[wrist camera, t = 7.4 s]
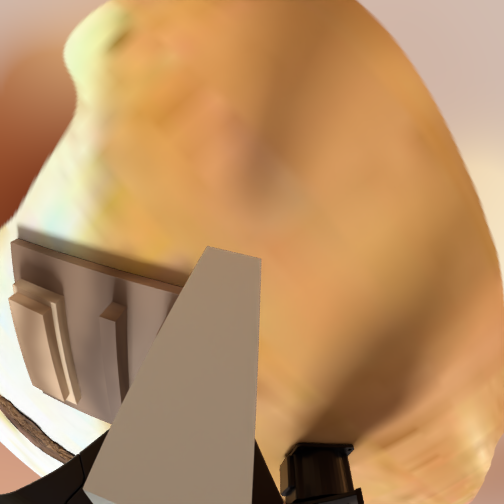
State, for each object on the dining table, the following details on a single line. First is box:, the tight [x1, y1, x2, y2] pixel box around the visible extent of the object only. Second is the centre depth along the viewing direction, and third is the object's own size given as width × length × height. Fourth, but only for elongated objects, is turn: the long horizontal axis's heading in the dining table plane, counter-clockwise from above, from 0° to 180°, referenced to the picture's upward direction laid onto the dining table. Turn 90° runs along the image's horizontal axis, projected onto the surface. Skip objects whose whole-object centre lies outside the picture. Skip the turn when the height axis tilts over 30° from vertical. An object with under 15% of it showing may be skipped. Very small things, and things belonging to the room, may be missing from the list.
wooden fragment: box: [0, 395, 74, 464], centre depth 30 cm, size 26×11×1 cm, turn 42°
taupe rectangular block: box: [83, 246, 261, 504], centre depth 7 cm, size 2×7×9 cm, turn 167°
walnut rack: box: [11, 238, 183, 424], centre depth 20 cm, size 18×18×3 cm
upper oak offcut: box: [8, 292, 70, 402], centre depth 18 cm, size 4×10×1 cm, turn 167°
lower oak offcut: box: [13, 279, 82, 405], centre depth 20 cm, size 5×12×1 cm, turn 167°
